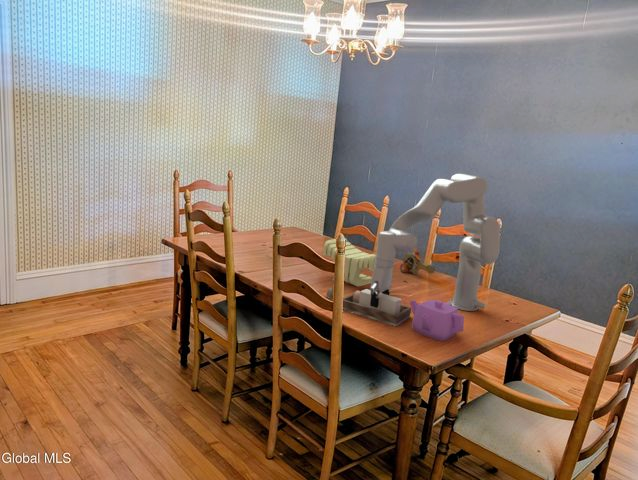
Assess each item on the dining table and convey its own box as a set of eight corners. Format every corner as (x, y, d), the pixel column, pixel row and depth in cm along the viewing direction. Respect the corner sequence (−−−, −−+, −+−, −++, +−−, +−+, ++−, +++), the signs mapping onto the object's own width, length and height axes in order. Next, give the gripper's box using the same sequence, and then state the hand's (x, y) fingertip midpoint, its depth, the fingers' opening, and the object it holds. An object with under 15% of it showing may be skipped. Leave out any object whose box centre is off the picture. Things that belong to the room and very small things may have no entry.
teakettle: (463, 343, 174) (469, 311, 171) (418, 340, 172) (423, 308, 170) (448, 324, 190) (452, 295, 188) (406, 322, 189) (410, 292, 186)
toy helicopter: (407, 269, 266) (411, 245, 263) (437, 280, 250) (441, 254, 247) (397, 270, 261) (400, 246, 258) (427, 282, 245) (431, 256, 242)
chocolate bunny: (329, 301, 203) (332, 279, 201) (324, 295, 210) (326, 273, 208) (342, 301, 205) (344, 279, 202) (336, 295, 212) (339, 273, 210)
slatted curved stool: (320, 275, 238) (324, 240, 235) (341, 270, 250) (344, 237, 246) (368, 292, 219) (373, 255, 215) (388, 286, 231) (393, 251, 227)
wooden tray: (409, 316, 194) (411, 307, 193) (395, 326, 183) (396, 316, 182) (356, 300, 207) (357, 291, 206) (339, 308, 196) (340, 299, 195)
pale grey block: (399, 315, 192) (401, 299, 190) (393, 318, 188) (396, 302, 186) (358, 302, 202) (359, 286, 200) (352, 305, 198) (353, 289, 196)
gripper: (385, 257, 199) (380, 296, 202) (365, 264, 184) (361, 306, 188) (402, 260, 195) (396, 300, 198) (383, 268, 180) (378, 311, 184)
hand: (379, 303), depth 193 cm, fingers open, 9 cm apart
